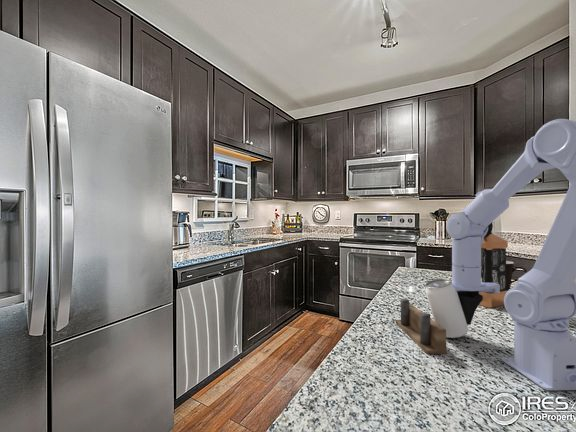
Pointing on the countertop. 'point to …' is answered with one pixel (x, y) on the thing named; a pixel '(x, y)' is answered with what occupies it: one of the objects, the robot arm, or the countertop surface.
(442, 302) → the can
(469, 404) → the countertop surface
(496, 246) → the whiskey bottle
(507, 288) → the coffee mug
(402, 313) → the rail
